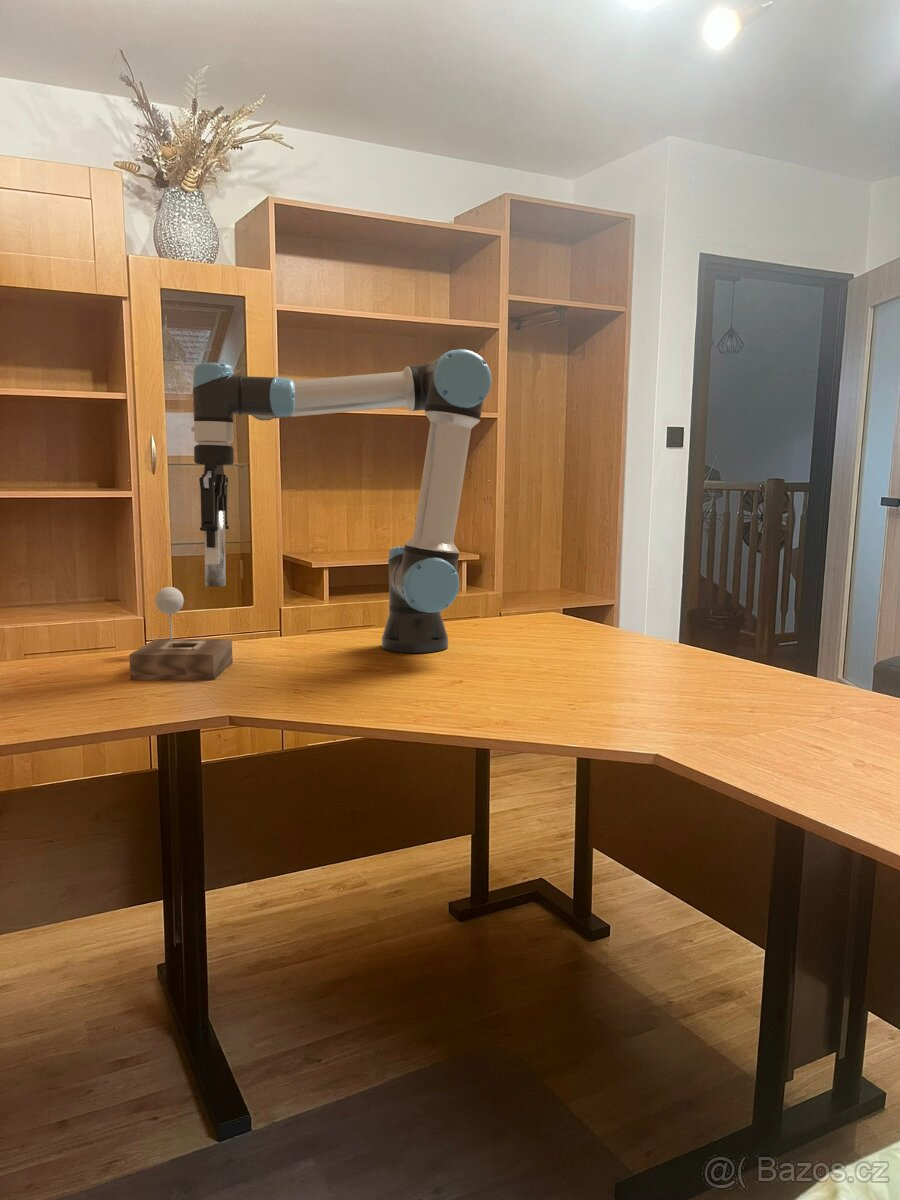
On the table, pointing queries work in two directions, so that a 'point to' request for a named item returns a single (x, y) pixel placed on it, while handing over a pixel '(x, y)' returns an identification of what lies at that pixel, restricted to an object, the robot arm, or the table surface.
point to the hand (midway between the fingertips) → (215, 562)
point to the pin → (217, 572)
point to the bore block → (181, 659)
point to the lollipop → (169, 602)
